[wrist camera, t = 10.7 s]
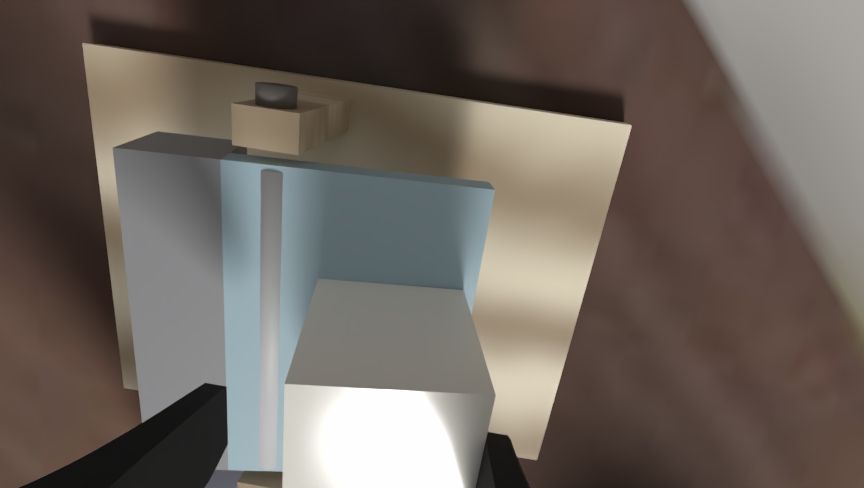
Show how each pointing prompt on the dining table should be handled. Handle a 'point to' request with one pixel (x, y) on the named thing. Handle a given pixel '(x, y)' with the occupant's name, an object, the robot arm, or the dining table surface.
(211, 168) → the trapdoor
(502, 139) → the beige slab
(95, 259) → the dining table surface
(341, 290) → the limestone block
